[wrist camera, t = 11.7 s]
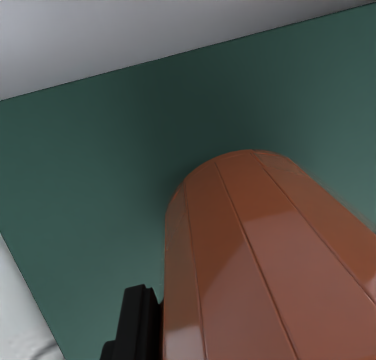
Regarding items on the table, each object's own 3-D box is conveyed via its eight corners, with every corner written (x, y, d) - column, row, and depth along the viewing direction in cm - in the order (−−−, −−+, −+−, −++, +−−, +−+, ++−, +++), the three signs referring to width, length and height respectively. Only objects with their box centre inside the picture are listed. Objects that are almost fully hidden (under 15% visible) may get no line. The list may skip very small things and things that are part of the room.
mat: (78, 372, 18) (75, 381, 17) (-52, 114, 13) (-60, 116, 12) (456, 284, 17) (464, 291, 17) (472, -24, 12) (485, -27, 12)
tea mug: (142, 173, 12) (88, 424, 4) (317, 129, 12) (646, 297, 4) (200, 359, 16) (237, 704, 7) (339, 327, 16) (537, 646, 7)
